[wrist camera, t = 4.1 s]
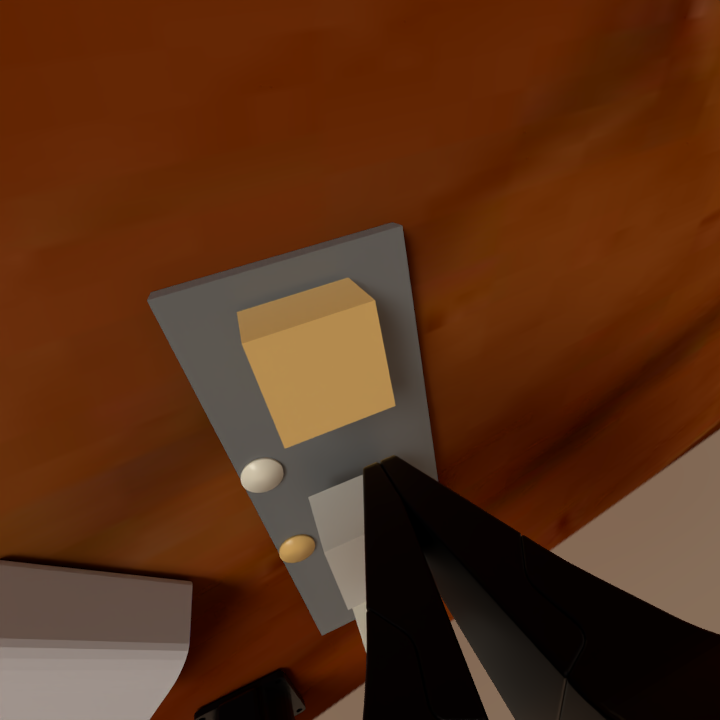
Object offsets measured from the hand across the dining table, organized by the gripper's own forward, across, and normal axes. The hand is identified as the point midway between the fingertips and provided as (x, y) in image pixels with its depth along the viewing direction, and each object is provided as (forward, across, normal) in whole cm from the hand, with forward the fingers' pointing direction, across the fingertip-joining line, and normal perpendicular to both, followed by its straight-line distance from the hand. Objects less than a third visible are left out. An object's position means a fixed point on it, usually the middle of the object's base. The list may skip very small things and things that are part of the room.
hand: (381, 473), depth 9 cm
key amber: (+8, 0, 0) cm, 8 cm away
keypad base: (+9, 0, +9) cm, 13 cm away
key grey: (+7, 0, +9) cm, 11 cm away
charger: (+10, +18, +10) cm, 23 cm away
